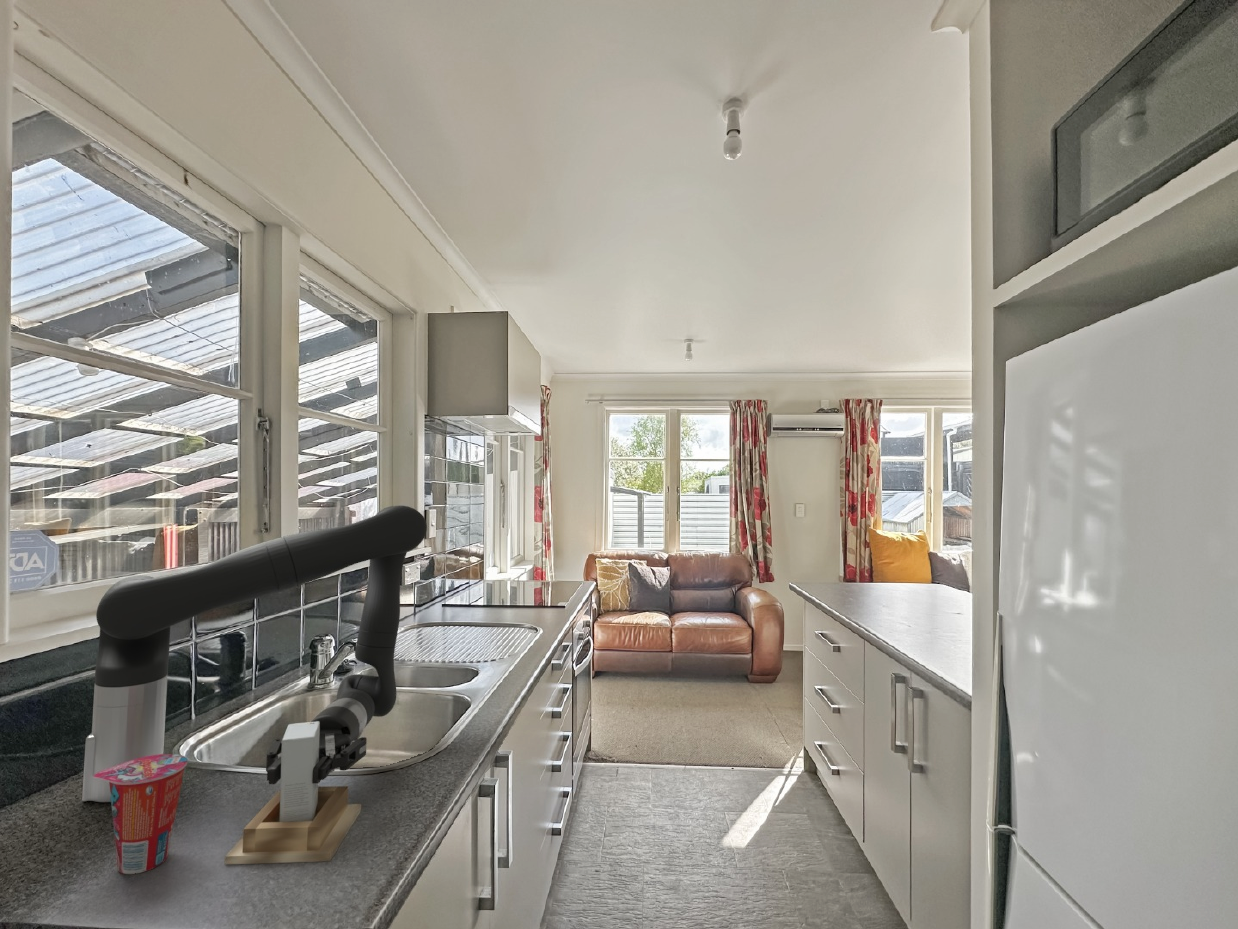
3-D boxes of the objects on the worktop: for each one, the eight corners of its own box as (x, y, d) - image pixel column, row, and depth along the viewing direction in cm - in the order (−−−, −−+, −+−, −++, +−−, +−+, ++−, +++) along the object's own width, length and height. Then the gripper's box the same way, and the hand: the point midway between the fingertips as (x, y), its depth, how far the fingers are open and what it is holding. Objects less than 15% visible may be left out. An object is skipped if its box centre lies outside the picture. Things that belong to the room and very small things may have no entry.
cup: (171, 836, 87) (175, 748, 87) (192, 860, 82) (197, 766, 82) (83, 867, 80) (89, 770, 80) (100, 895, 74) (106, 791, 75)
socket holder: (224, 864, 81) (226, 832, 81) (270, 813, 94) (271, 785, 94) (330, 861, 82) (331, 829, 82) (360, 810, 95) (362, 783, 95)
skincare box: (285, 808, 90) (288, 723, 91) (318, 803, 92) (320, 720, 92) (277, 830, 85) (280, 740, 85) (312, 825, 86) (315, 736, 86)
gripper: (291, 705, 102) (239, 750, 85) (383, 705, 104) (349, 748, 87) (289, 753, 102) (236, 806, 85) (381, 751, 103) (347, 804, 86)
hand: (293, 776), depth 86 cm, fingers closed on skincare box, 5 cm apart
